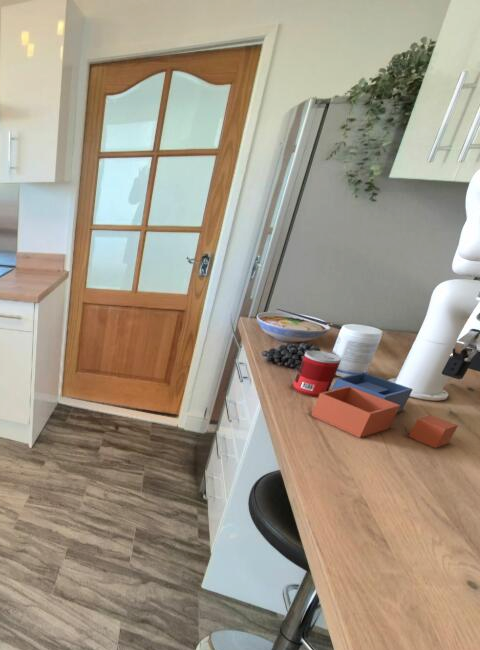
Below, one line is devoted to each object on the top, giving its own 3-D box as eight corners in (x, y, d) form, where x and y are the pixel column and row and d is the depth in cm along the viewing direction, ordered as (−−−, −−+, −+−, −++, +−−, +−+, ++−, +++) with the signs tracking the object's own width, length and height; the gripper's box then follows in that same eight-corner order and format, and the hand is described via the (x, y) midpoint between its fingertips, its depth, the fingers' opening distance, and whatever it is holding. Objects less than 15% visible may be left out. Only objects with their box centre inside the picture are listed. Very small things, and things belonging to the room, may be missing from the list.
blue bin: (354, 392, 122) (363, 372, 119) (401, 411, 112) (412, 389, 109) (327, 399, 118) (336, 378, 115) (374, 419, 109) (385, 396, 106)
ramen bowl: (234, 331, 169) (240, 311, 165) (281, 326, 174) (288, 306, 170) (291, 354, 147) (299, 332, 143) (343, 348, 152) (352, 326, 148)
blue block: (360, 397, 118) (367, 381, 115) (381, 406, 113) (389, 389, 111) (348, 401, 116) (355, 384, 114) (369, 409, 112) (377, 392, 110)
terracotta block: (420, 432, 103) (430, 414, 101) (447, 443, 99) (458, 425, 96) (408, 436, 101) (417, 418, 99) (435, 448, 97) (445, 429, 95)
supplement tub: (372, 378, 130) (393, 332, 123) (347, 381, 128) (367, 335, 121) (340, 366, 138) (358, 322, 132) (317, 368, 136) (334, 324, 130)
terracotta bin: (339, 407, 114) (348, 385, 111) (389, 428, 105) (400, 405, 102) (310, 415, 110) (319, 393, 108) (359, 437, 101) (370, 414, 98)
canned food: (332, 398, 119) (347, 362, 114) (300, 395, 120) (313, 359, 115) (318, 386, 125) (331, 351, 120) (287, 383, 127) (300, 349, 122)
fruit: (266, 336, 137) (325, 345, 129) (267, 337, 144) (323, 346, 135) (258, 362, 139) (315, 373, 130) (259, 362, 146) (314, 372, 137)
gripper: (511, 303, 79) (464, 386, 86) (557, 296, 85) (510, 374, 92) (457, 294, 85) (418, 372, 93) (503, 287, 91) (463, 362, 98)
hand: (464, 373), depth 92 cm, fingers open, 9 cm apart
